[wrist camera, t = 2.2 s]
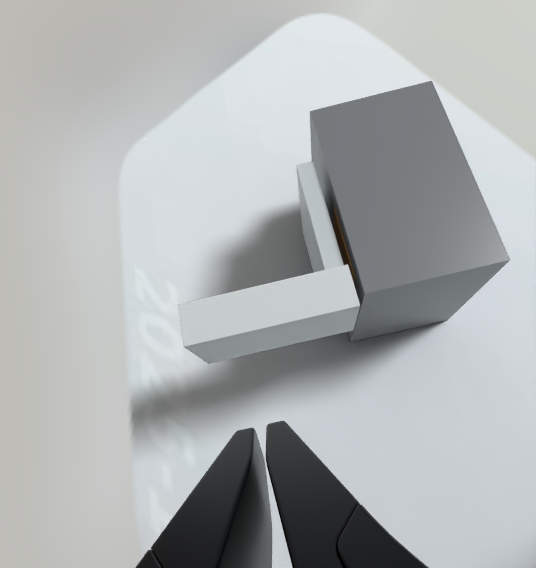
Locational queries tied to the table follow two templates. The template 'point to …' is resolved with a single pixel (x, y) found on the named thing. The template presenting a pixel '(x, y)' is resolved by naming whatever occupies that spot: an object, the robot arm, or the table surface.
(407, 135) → the block
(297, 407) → the table surface
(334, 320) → the side door
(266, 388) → the table surface
